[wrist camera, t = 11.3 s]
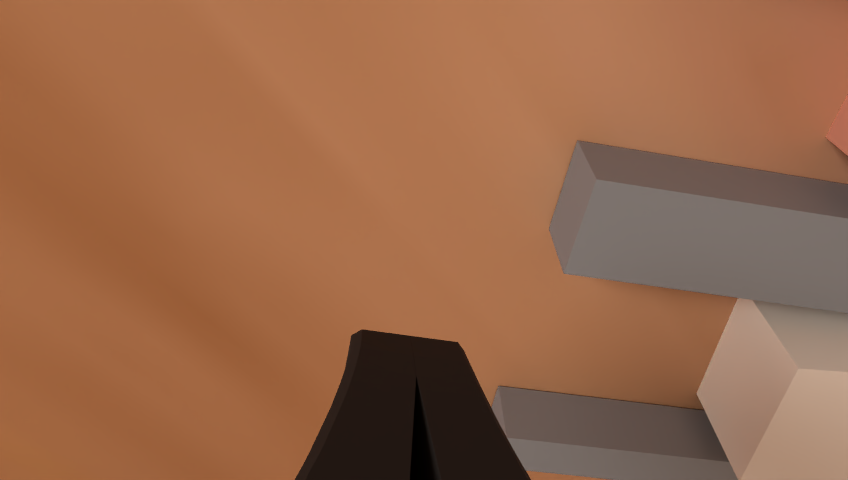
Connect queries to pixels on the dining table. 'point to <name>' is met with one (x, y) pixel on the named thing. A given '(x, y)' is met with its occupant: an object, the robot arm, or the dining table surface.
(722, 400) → the off-white plug
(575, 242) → the cable organizer
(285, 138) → the dining table surface
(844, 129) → the brick-red plug
